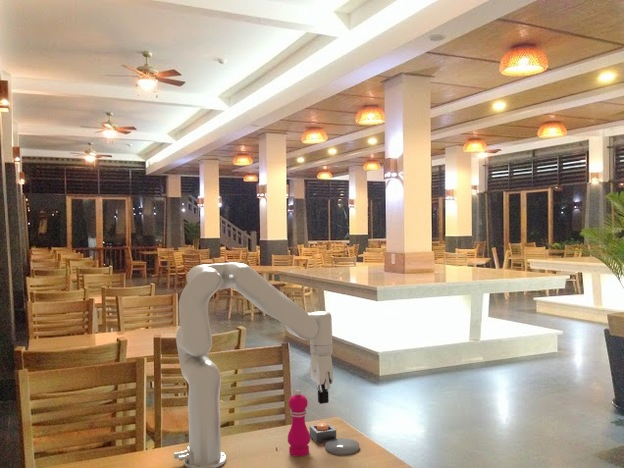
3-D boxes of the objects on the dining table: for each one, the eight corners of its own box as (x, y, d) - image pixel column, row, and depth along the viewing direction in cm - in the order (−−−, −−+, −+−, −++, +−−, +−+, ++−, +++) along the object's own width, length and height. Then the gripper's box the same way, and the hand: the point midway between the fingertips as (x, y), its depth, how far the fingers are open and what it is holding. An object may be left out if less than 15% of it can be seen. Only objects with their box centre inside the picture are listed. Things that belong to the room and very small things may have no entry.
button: (319, 435, 188) (319, 428, 188) (315, 430, 192) (315, 423, 192) (330, 433, 190) (330, 426, 190) (326, 429, 194) (326, 422, 193)
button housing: (316, 443, 187) (316, 432, 186) (309, 435, 193) (309, 425, 193) (336, 440, 189) (336, 429, 189) (328, 432, 195) (328, 422, 195)
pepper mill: (311, 447, 183) (310, 386, 182) (309, 457, 176) (307, 393, 175) (289, 447, 184) (288, 386, 183) (286, 456, 177) (284, 393, 176)
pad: (332, 457, 176) (332, 454, 176) (320, 444, 186) (320, 441, 186) (365, 451, 179) (365, 448, 179) (351, 439, 190) (351, 436, 190)
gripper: (303, 345, 196) (305, 397, 197) (318, 355, 182) (320, 411, 183) (324, 342, 198) (325, 394, 199) (340, 352, 184) (342, 407, 185)
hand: (323, 402), depth 191 cm, fingers closed
